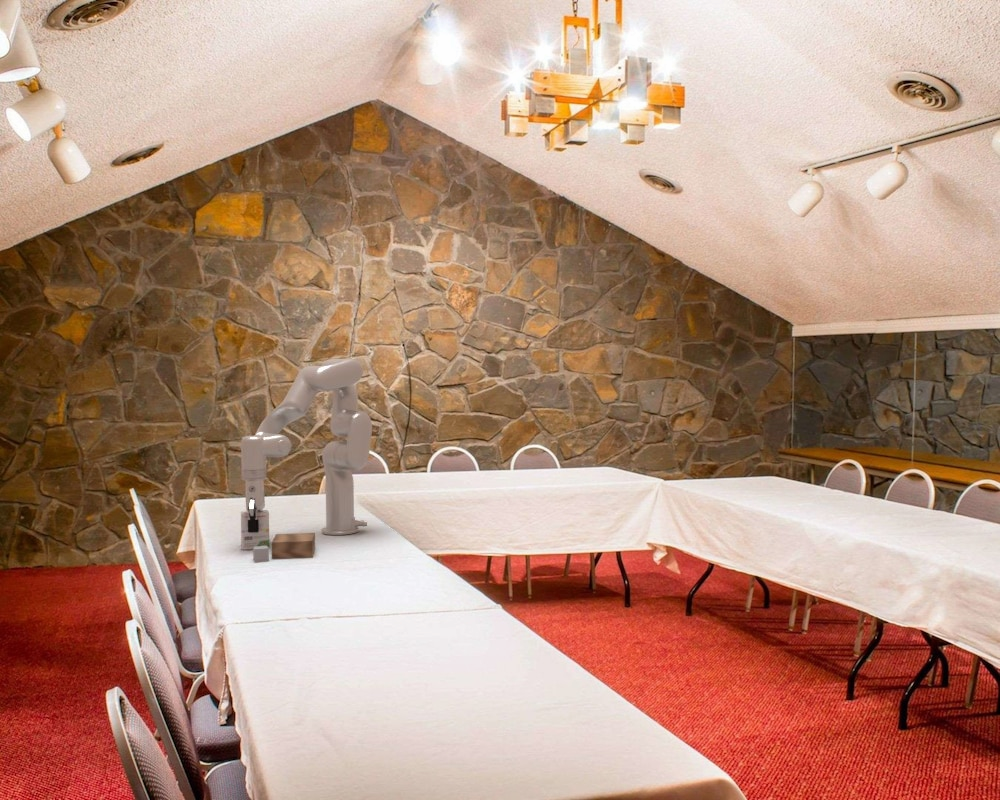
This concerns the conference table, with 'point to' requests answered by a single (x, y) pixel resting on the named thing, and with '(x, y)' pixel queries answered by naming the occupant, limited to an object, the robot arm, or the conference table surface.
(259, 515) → the ink box
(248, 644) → the conference table surface
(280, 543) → the walnut base block
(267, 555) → the slate cube
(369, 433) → the robot arm
